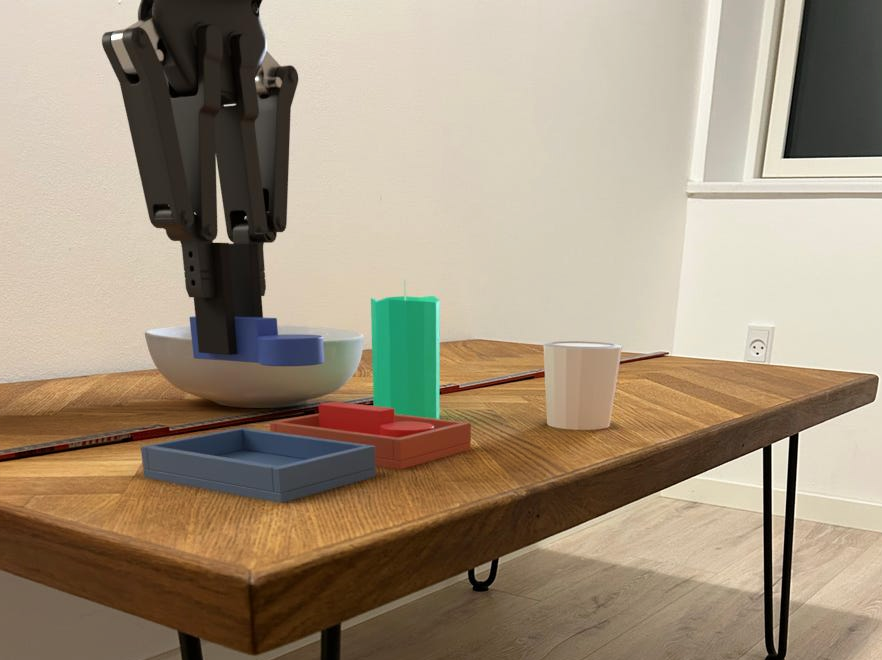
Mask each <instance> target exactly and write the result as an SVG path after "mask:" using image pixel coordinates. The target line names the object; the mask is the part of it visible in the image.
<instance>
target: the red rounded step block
mask: <svg viewBox="0 0 882 660" xmlns="http://www.w3.org/2000/svg"><path fill="white" fill-rule="evenodd" d="M318 414H319V424H320V428H328V429H335V430H343V431H351V432H358V433H366V434H373V435H381V436H389V437H396V438H400V437H404V436H408V435H412V434H417V433H421V432H425V431H429V430H433V429H434V425H432V424H429V423H425V422H414V421H399V422H395V421H394V408H387V407H378V406H373V405H368V404H361V403H352V402H351V403H350V402H342V401H334V400H333V401H327V402H322V403H318Z"/></svg>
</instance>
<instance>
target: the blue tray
mask: <svg viewBox="0 0 882 660" xmlns="http://www.w3.org/2000/svg"><path fill="white" fill-rule="evenodd" d="M140 453H141V462H142V468H143V469H142V470H143V471H142V472H143V478H145V479H151V480H156V481H160V482H165V483H166V482H168V483H173V484H176V485H177V484H178V485H183V486H189V487H193V488H198V489H204V490H209V491H214V492H221V493H225V494H226V493H227V494H231V495H236V496H242V497H245V498H246V497H248V498H252V499H256V500H257V499H259V500H263V501H269V502H273V503H279V504H283V503H286V502H291V501H294V500H298V499H300V498H305V497H309V496H311V495H315V494H319V493H323V492H326V491H329V490H333V489H336V488H340V487H343V486H347V485H351V484H354V483H358V482H360V481H365V480H368V479H372V478H375V477H376V475H377V473H376V472H377V471H376V470H377V469H376V466H375V446H372V445H365V444H358V443H351V442H343V441H336V440H329V439H322V438H315V437H307V436H300V435H293V434H286V433H278V432H271V431H270V430H263V429H262V430H261V429H256V428H248V427H238V428H231V429H226V430H221V431H216V432H209V433H205V434H204V433H203V434H199V435H193V436H188V437H182V438H177V439H171V440H167V441H160V442H155V443H149V444H143V445H140Z"/></svg>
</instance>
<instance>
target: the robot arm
mask: <svg viewBox="0 0 882 660" xmlns="http://www.w3.org/2000/svg"><path fill="white" fill-rule="evenodd" d="M262 2H263V0H140V3H139V6H138V9H137V21H136V22H134V23H133V24H131V25H130V26H128V27H125V28H122V29H116V30H112V31H106V32H104V34H102V37H101V45H102V48H103V51H104V54H105V55H106V57H107V59H108V61H109V64H110V66H111V68H112V70H113V72H114V74H115V77H116V78H117V81H118V82H119V87H120V90H121V96H122V101H123V104H124V105H123V106H124V109H125V113H126V118H127V123H128V127H129V132H130V136H131V141H132V145H133V149H134V155H135V160H136V164H137V169H138V172H139V178H140V182H141V186H142V187H141V188H142V191H143V196H144V200H145V205H146V209H147V214H148V219H149V221H150V223H151V225H152V226H153V227H154V228H156V229H163V230H165V234H166V236H167V237H168V239H169V240H170V241H172V242H180V246H181V252H182V253H181V254H182V264H183V271H184V272H183V274H184V284H185V290H186V293H187V295H188V297H189V298H193V305H194V307H193V308H194V315H195V317H196V328H197V338H198V349H199V353H211V354H223V355H234V354H237V343H236V331H235V317H262V318H264V312H263V297H265V295H266V289H267V284H266V282H267V281H266V272H265V270H266V268H265V255H264V254H265V253H264V245H265V244H271V243H274V242H275V241H276V239H277V236H278V233H283V232H284V231H286V229H287V223H288V220H287V219H288V199H289V198H288V197H289V195H288V194H289V172H290V171H289V167H290V144H291V143H290V142H291V141H290V140H291V139H290V138H291V111H292V110H291V109H292V105H293V101H294V98H295V95H296V90H297V88H298V84H299V73H298V70H297V69H296V67H295V66H293V65H290V64H288V65H280V63H279V62H278V61H277V60H276V59H275V58H274V57H273V55H271V54H270V52H269V51H268V40H267V36H266V33H265V31H264V28H263V27H264V26H263V24H262V20H261V17H260V8H261V5H262ZM217 172H218V173H217ZM217 174H218V180H219V186H220V194H221V202H222V207H223V214H224V221H225V229H226V234H227V238H228V239H229V241H230V242H231V243H230V242H214V241H215V240H216V239H217V237H218V232H219V231H218V230H219V229H218V194H217V193H218V192H217V191H218V190H217V189H218V188H217Z"/></svg>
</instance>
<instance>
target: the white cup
mask: <svg viewBox="0 0 882 660" xmlns="http://www.w3.org/2000/svg"><path fill="white" fill-rule="evenodd" d="M542 347H543V361H544V362H543V367H544V387H545V388H544V389H545V409H546V411H545V412H546V424H547V426H549V427H551V428H555V429H562V430H574V431H594V430H595V431H596V430H603V429H607V428H609V427H610V426H611V419H612V415H613V414H612V413H613V407H614V401H615V394H616V389H617V382H618V376H619V369H620V363H621V356H622V349H623V346H621V345H620V344H616V343H609V342H600V341H585V340H584V341H583V340H581V341H578V340H577V341H575V340H574V341H573V340H571V341H553V342H548V343H544V344H543V345H542Z"/></svg>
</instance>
